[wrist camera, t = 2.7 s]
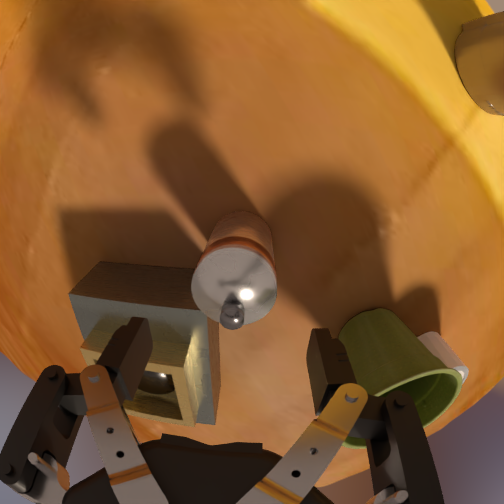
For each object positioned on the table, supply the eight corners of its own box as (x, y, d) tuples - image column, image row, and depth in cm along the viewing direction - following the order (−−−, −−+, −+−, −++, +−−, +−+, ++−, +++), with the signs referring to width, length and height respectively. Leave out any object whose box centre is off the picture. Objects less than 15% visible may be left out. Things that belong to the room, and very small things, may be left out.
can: (211, 209, 22) (183, 257, 14) (274, 212, 22) (283, 263, 14) (211, 265, 25) (189, 332, 16) (270, 268, 24) (274, 338, 16)
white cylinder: (412, 328, 27) (437, 370, 21) (452, 326, 27) (478, 362, 21) (391, 369, 30) (408, 411, 24) (430, 364, 30) (450, 401, 24)
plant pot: (303, 368, 30) (314, 454, 19) (336, 280, 25) (375, 372, 15) (389, 370, 30) (416, 441, 20) (432, 293, 25) (485, 363, 15)
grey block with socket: (99, 261, 25) (52, 310, 17) (217, 270, 25) (200, 334, 17) (130, 374, 32) (109, 424, 24) (220, 387, 32) (212, 445, 24)
